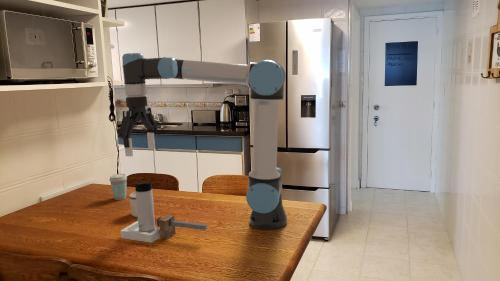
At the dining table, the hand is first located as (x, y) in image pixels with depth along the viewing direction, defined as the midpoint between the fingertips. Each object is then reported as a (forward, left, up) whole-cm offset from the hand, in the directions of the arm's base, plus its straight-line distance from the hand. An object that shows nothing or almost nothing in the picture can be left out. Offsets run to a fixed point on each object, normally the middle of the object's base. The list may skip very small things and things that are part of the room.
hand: (141, 152), depth 146 cm
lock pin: (-16, 0, -29) cm, 33 cm away
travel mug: (0, 0, -31) cm, 32 cm away
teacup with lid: (+16, -19, -33) cm, 41 cm away
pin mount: (-9, 0, -32) cm, 34 cm away
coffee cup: (+41, -33, -32) cm, 62 cm away
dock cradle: (0, 0, -32) cm, 32 cm away
